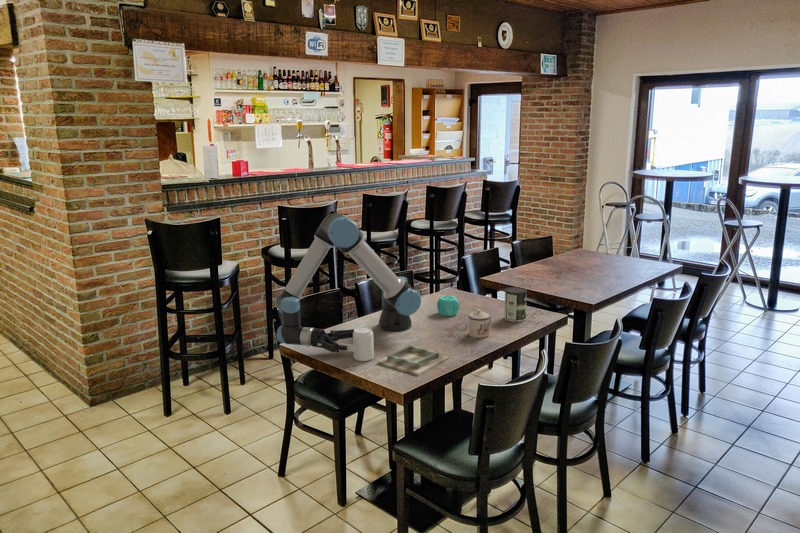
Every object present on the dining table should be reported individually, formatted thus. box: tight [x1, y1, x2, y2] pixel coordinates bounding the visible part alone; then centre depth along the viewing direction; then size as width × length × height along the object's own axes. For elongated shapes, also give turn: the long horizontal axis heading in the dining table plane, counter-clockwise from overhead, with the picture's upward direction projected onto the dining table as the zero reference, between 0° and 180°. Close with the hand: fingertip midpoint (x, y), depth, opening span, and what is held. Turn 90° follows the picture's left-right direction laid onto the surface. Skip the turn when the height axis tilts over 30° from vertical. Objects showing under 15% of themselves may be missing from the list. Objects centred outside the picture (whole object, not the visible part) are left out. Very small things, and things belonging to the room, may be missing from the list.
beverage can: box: [352, 326, 375, 362], centre depth 243 cm, size 8×8×12 cm
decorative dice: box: [436, 295, 460, 317], centre depth 297 cm, size 8×8×8 cm
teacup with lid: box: [468, 308, 492, 339], centre depth 268 cm, size 12×9×12 cm
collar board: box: [377, 344, 449, 377], centre depth 240 cm, size 20×20×3 cm
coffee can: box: [503, 286, 528, 323], centre depth 288 cm, size 10×10×14 cm
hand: (362, 342), depth 243 cm, fingers open, 13 cm apart
